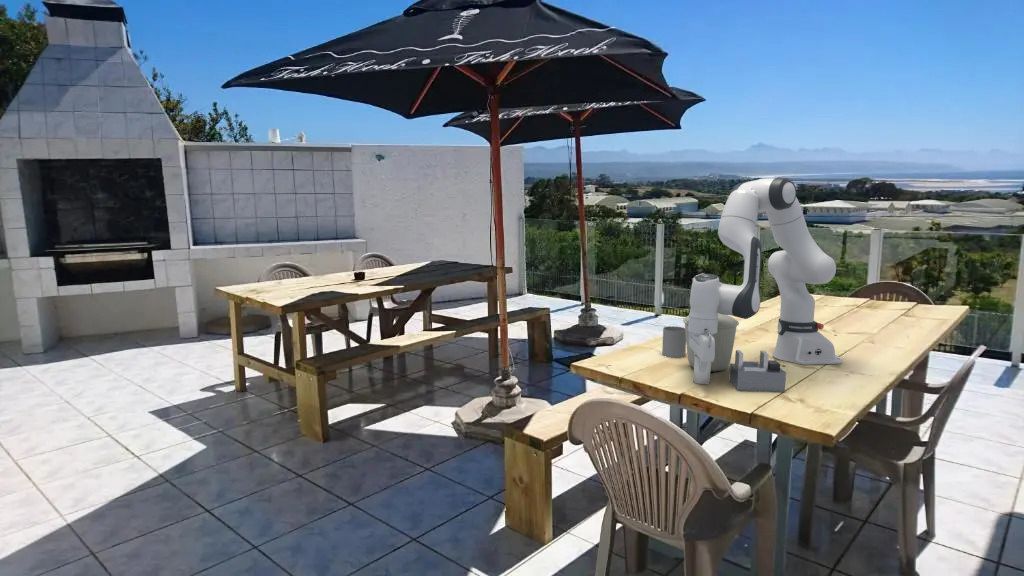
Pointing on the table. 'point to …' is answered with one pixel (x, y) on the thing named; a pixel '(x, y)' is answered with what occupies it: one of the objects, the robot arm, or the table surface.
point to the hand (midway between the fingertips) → (700, 368)
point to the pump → (701, 376)
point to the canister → (718, 342)
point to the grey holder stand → (757, 374)
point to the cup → (674, 342)
